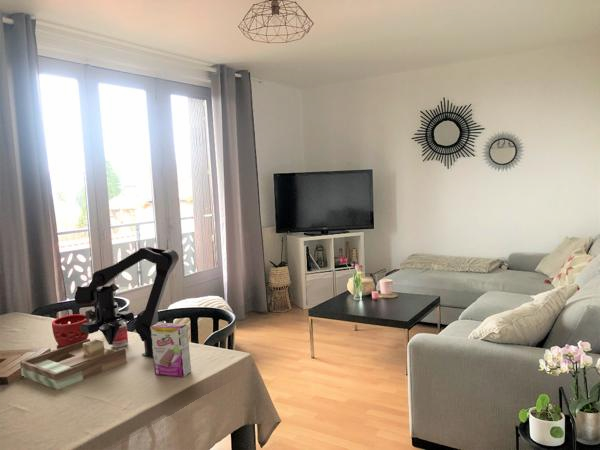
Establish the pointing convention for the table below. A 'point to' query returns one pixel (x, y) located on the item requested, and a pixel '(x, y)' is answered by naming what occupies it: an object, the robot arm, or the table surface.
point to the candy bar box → (170, 349)
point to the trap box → (69, 365)
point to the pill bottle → (121, 336)
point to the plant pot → (69, 330)
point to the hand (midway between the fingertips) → (110, 344)
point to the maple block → (93, 348)
